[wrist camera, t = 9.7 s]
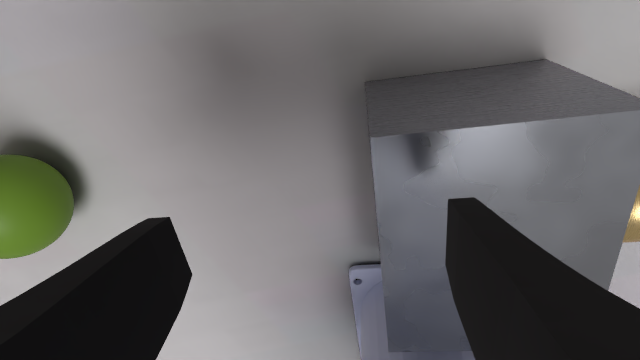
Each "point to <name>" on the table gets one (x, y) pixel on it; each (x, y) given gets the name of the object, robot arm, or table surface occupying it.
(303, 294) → the table surface
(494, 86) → the bore block
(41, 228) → the snail figurine
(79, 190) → the table surface
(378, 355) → the robot arm
